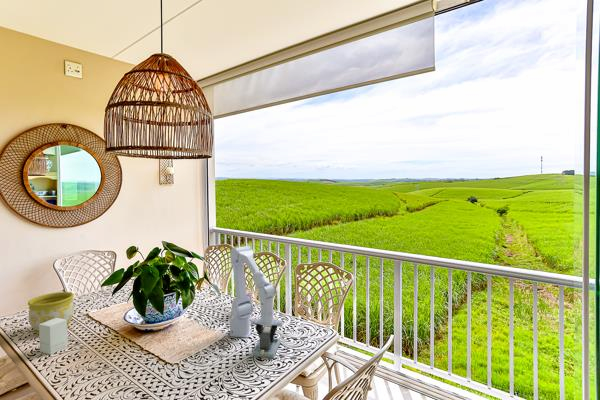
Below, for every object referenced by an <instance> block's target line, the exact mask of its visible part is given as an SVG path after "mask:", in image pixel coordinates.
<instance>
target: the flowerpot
mask: <svg viewBox="0 0 600 400" xmlns="http://www.w3.org/2000/svg"><path fill="white" fill-rule="evenodd" d="M74 295H75V294H74V293H73V292H72V291H71V292H70V291H57V292H51V293H45V294H42V295H38V296H35V297H33V298H31V299H30V300H28V301H27V305H28V306H29V307H28V309H29V310H28V323H29V325H30V326H31V328H32V329H34V330H33V332H34V333H35V334H36V335H39V324H41V323H44V322H47V321H49V320H52V319H54V318H60V319H65V320H67V327H68V326H69V325H70V324H71V322H70V321H71V319H72V318H73V315H74V312H75V306H74V305H75V304H74Z"/></svg>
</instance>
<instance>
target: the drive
mask: <svg viewBox="0 0 600 400" xmlns="http://www.w3.org/2000/svg"><path fill="white" fill-rule="evenodd" d="M271 327H272V326H266V327H265V326H263V329H262V331H261V332H260V337H259V339H260V349H262V350H270V348H271V346H272V344H273V342H274V340H273V342H271V330H270V329H271Z"/></svg>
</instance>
